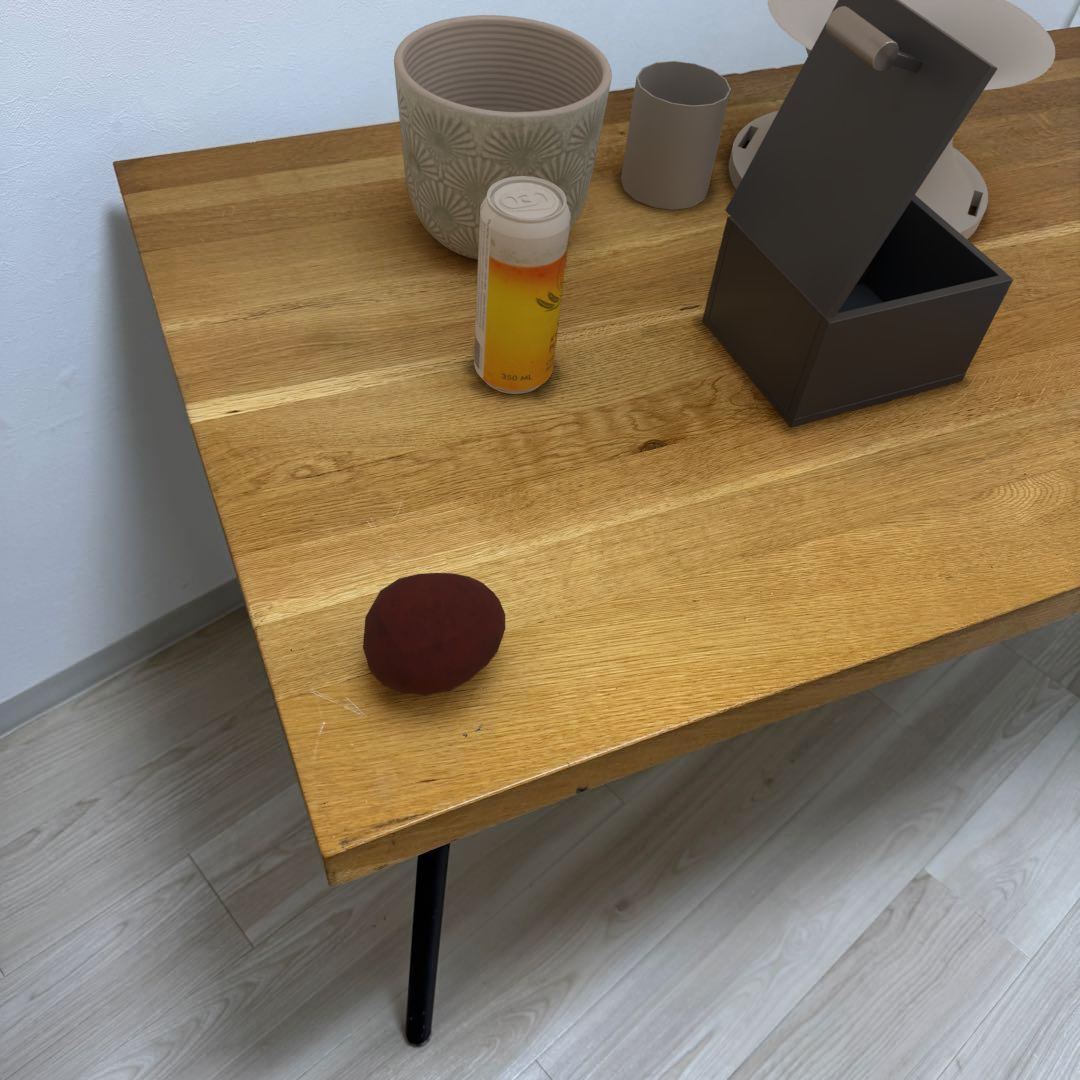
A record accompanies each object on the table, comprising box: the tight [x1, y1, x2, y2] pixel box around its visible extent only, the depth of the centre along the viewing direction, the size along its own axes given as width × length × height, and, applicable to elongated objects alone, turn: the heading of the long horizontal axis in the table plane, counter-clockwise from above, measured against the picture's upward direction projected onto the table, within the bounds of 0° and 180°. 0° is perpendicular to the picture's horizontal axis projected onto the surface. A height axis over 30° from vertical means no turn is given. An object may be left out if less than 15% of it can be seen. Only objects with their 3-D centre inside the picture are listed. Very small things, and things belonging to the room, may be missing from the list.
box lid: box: [725, 0, 997, 318], centre depth 67 cm, size 17×14×5 cm
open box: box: [701, 195, 1014, 428], centre depth 80 cm, size 17×14×10 cm
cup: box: [620, 60, 732, 211], centre depth 95 cm, size 8×8×10 cm
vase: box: [728, 0, 1056, 240], centre depth 96 cm, size 25×25×16 cm
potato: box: [362, 572, 506, 696], centre depth 59 cm, size 7×8×7 cm
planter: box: [393, 14, 613, 261], centre depth 85 cm, size 17×17×15 cm
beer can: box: [473, 176, 571, 395], centre depth 73 cm, size 6×6×15 cm
